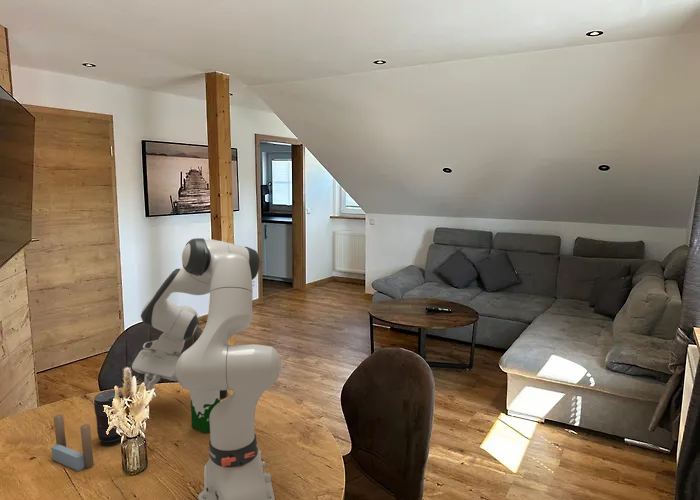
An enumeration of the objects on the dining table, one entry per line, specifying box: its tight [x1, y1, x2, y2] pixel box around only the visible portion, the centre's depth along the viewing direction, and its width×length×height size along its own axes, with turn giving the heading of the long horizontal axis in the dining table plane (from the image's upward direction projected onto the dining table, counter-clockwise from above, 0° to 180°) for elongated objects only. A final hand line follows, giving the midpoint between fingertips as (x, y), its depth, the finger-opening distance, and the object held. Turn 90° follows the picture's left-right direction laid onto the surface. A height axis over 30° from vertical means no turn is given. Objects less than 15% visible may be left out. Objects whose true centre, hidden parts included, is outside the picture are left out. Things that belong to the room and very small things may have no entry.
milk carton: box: [189, 390, 221, 434], centre depth 160 cm, size 9×9×20 cm
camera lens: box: [93, 389, 124, 447], centre depth 153 cm, size 8×8×15 cm
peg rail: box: [50, 414, 95, 472], centre depth 142 cm, size 4×15×12 cm, turn 62°
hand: (146, 388), depth 164 cm, fingers closed
